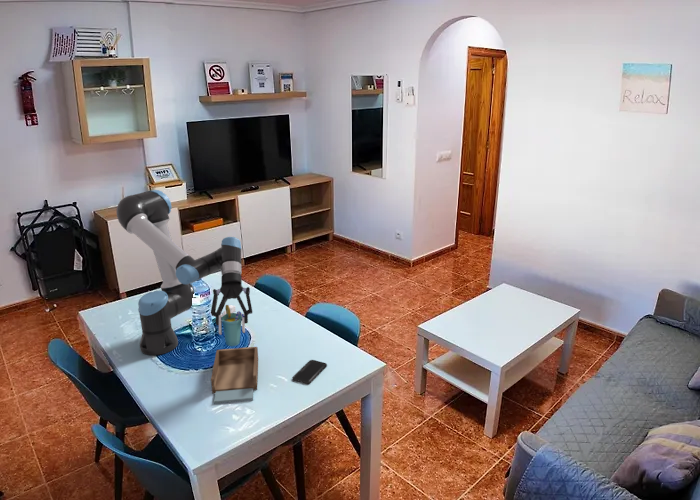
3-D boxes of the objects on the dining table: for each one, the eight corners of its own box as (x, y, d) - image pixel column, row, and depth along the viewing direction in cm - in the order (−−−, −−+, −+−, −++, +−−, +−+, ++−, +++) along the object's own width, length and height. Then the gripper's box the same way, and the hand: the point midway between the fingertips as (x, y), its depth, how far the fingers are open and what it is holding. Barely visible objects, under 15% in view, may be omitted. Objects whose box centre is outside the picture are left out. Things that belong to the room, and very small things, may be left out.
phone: (327, 363, 202) (308, 383, 189) (327, 366, 202) (309, 385, 190) (310, 359, 205) (290, 378, 192) (310, 361, 206) (291, 380, 193)
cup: (253, 347, 189) (252, 311, 184) (235, 354, 184) (234, 317, 179) (232, 333, 198) (231, 298, 193) (214, 340, 193) (213, 304, 188)
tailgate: (216, 393, 184) (214, 403, 179) (215, 391, 184) (214, 401, 179) (253, 390, 186) (253, 400, 181) (253, 388, 186) (252, 397, 180)
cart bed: (212, 393, 185) (210, 379, 183) (217, 362, 204) (216, 349, 202) (257, 389, 187) (256, 375, 185) (258, 359, 206) (257, 346, 204)
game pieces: (230, 310, 251) (230, 304, 250) (235, 312, 249) (235, 306, 248) (213, 320, 241) (213, 314, 240) (219, 321, 239) (218, 315, 238)
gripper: (259, 277, 200) (261, 333, 191) (205, 280, 197) (204, 337, 188) (258, 269, 194) (259, 327, 184) (202, 272, 191) (201, 331, 181)
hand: (232, 332), depth 186 cm, fingers closed on cup, 8 cm apart
